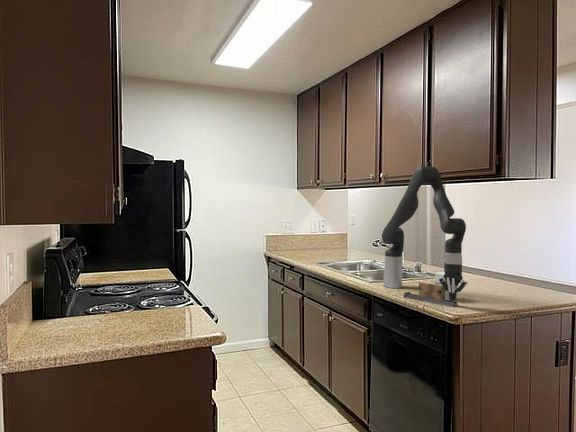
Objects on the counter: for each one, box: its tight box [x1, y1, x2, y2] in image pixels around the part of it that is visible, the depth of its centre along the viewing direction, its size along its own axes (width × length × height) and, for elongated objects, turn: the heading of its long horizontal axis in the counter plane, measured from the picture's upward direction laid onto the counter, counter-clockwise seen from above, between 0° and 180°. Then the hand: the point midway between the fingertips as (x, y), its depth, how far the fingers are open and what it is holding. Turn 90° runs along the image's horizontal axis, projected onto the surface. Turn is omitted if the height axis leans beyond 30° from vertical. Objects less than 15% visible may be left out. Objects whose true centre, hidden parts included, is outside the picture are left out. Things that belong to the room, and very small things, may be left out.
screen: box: [418, 281, 445, 301], centre depth 201 cm, size 13×2×7 cm, turn 40°
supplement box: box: [434, 271, 450, 301], centre depth 208 cm, size 7×7×13 cm
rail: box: [403, 291, 459, 308], centre depth 202 cm, size 26×4×2 cm, turn 40°
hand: (452, 300), depth 193 cm, fingers closed
